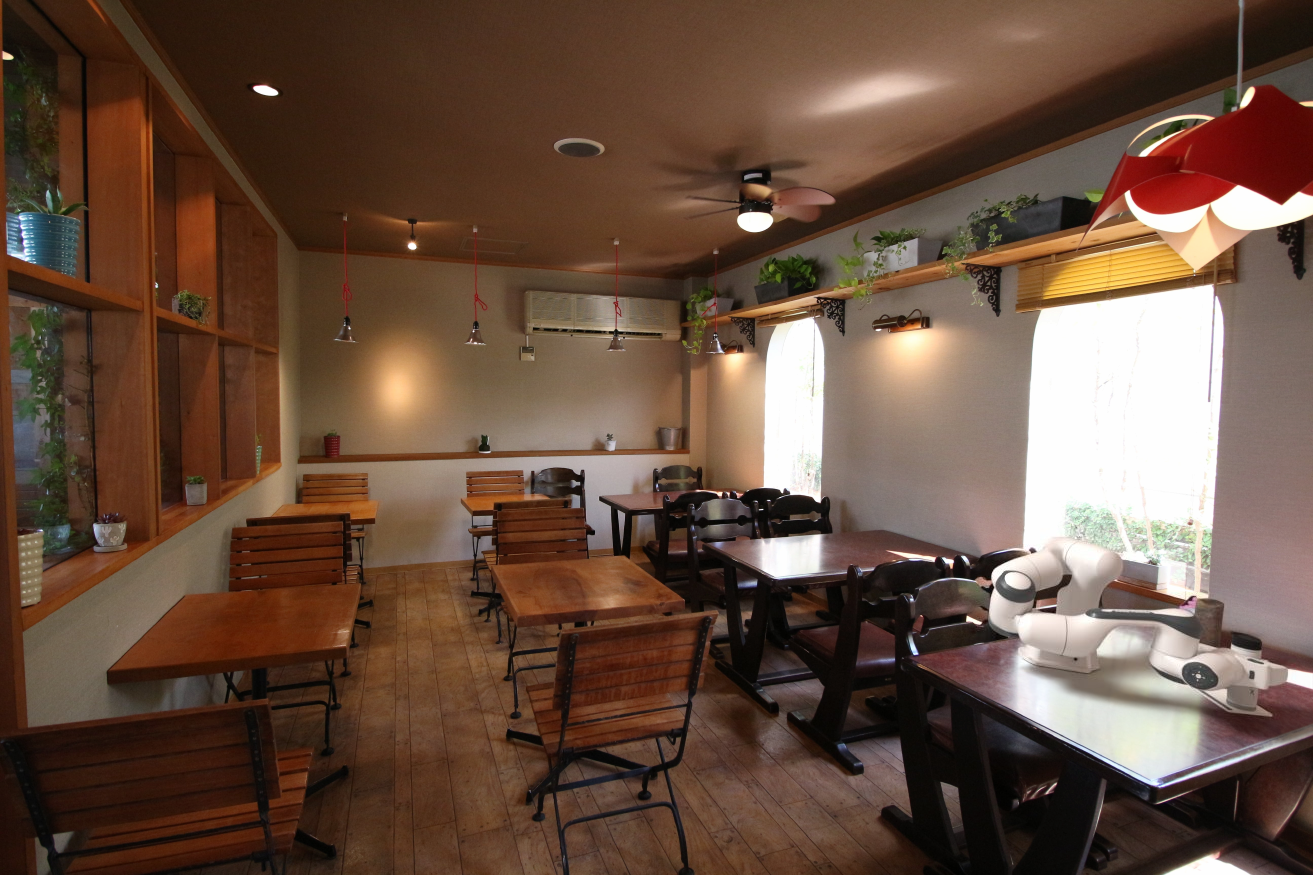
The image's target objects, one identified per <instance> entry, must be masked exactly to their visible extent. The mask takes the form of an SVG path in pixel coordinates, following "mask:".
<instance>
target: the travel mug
mask: <svg viewBox="0 0 1313 875" xmlns="http://www.w3.org/2000/svg"><path fill="white" fill-rule="evenodd" d="M1230 635H1231V636H1232V638H1231V643H1230V644H1231V645H1230V649H1232V650H1234V651H1236V652H1238V653H1239V654H1242V655H1244V656H1248V657H1252V658H1255V659H1262V650H1263V647H1262V646H1263V641H1262V640H1261V639H1260V638H1258V637H1256V636H1255V635H1254V636H1253V635H1250V634H1247V633H1244V632H1240V631H1239V632H1238V631H1233V630H1231V631H1230ZM1226 689H1227V697H1226V703H1227V704H1229V705H1230V706H1232V707H1235V708H1238V709H1241V710H1246V711H1255V710H1256V708H1257V706H1258V698H1259V697H1258V696H1259V689H1257V688H1253V687H1247V686H1238V685H1230V686H1228V687H1226Z"/></svg>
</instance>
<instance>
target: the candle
mask: <svg viewBox="0 0 1313 875" xmlns="http://www.w3.org/2000/svg"><path fill="white" fill-rule="evenodd" d="M1199 598H1200V599H1198V600H1196V606H1195V615H1196V616H1197V617H1198V619H1199V620H1200V621H1201V623H1202V625H1203V626H1204V630H1203V633H1202V636H1201V639H1200V641H1199V643H1201V644H1205V645H1208V646H1212V647H1215V648H1221V640H1222V639H1221V638H1222V637H1221V636H1222V629H1223V628H1222V627H1223V620H1224V611H1225V603H1224V602H1223V601H1221V600H1219V599H1214V598H1208V597H1205V598H1204V597H1203V598H1202V597H1199ZM1201 598H1202V599H1201Z"/></svg>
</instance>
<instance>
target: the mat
mask: <svg viewBox="0 0 1313 875" xmlns="http://www.w3.org/2000/svg"><path fill="white" fill-rule="evenodd" d="M1190 688H1191V689H1193V690H1194V691H1196V692H1197V693H1198V694H1200V695H1201V696H1203V697H1205V698H1206V699H1208V700H1209V701H1211V702H1212V703H1214V704H1215V705H1216V706H1218V707H1220V708H1221V709H1222V710H1224V711H1226V712H1227V713H1233V714H1242V715H1244V714H1245V715H1253V716H1262V717H1273V713H1271V712H1269V711H1267V710H1265V709H1264V708H1262V707H1260V706H1259V705H1257V708H1256V710H1255V711H1246V710H1241V709H1238V708H1235V707H1232V706H1230V705H1229V704H1227V703H1226V697H1227V688H1223V689H1220V690H1216V691H1202V690H1197V689H1195V688H1192V687H1190Z"/></svg>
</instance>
